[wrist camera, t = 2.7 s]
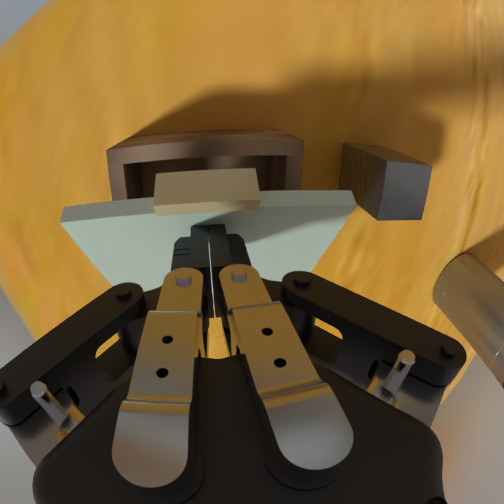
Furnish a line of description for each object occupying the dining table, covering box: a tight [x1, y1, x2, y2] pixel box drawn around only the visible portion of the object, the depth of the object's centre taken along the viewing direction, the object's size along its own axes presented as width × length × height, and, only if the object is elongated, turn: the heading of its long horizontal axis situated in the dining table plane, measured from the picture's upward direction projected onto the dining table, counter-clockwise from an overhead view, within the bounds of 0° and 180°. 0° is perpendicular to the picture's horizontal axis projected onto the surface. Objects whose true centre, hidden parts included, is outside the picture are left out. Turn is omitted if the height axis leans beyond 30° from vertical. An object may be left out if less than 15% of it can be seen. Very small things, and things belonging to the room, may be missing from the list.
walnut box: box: [106, 130, 303, 201], centre depth 21 cm, size 12×10×6 cm
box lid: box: [60, 168, 357, 295], centre depth 16 cm, size 13×11×2 cm
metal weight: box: [338, 143, 432, 221], centre depth 22 cm, size 4×4×7 cm
